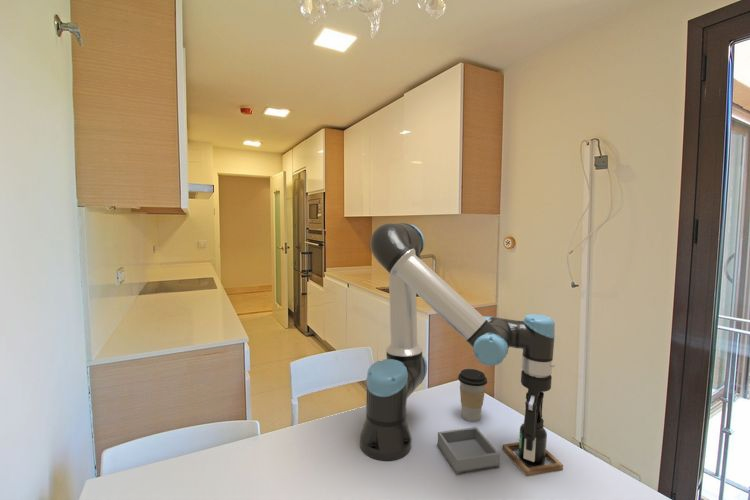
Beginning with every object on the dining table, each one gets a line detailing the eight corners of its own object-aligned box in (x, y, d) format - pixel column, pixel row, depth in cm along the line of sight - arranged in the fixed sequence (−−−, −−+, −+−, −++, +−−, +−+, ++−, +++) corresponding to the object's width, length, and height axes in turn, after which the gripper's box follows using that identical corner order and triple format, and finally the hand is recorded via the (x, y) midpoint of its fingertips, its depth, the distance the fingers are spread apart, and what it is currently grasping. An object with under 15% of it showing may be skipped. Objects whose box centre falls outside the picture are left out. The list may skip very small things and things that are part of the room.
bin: (437, 445, 104) (437, 432, 104) (475, 439, 107) (476, 427, 107) (456, 474, 92) (457, 460, 92) (499, 467, 95) (499, 453, 95)
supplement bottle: (515, 460, 98) (517, 419, 97) (521, 448, 103) (524, 408, 102) (542, 471, 94) (544, 428, 93) (547, 458, 99) (550, 417, 98)
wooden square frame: (502, 449, 103) (502, 444, 102) (535, 444, 105) (535, 439, 105) (526, 476, 92) (527, 470, 92) (562, 470, 95) (563, 464, 94)
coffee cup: (486, 426, 114) (489, 381, 113) (456, 422, 116) (458, 378, 114) (484, 411, 123) (485, 369, 122) (456, 407, 125) (457, 366, 124)
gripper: (546, 390, 86) (540, 479, 88) (556, 363, 103) (551, 438, 105) (513, 381, 90) (509, 466, 92) (528, 357, 107) (524, 430, 109)
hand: (531, 451), depth 98 cm, fingers closed on supplement bottle, 7 cm apart
